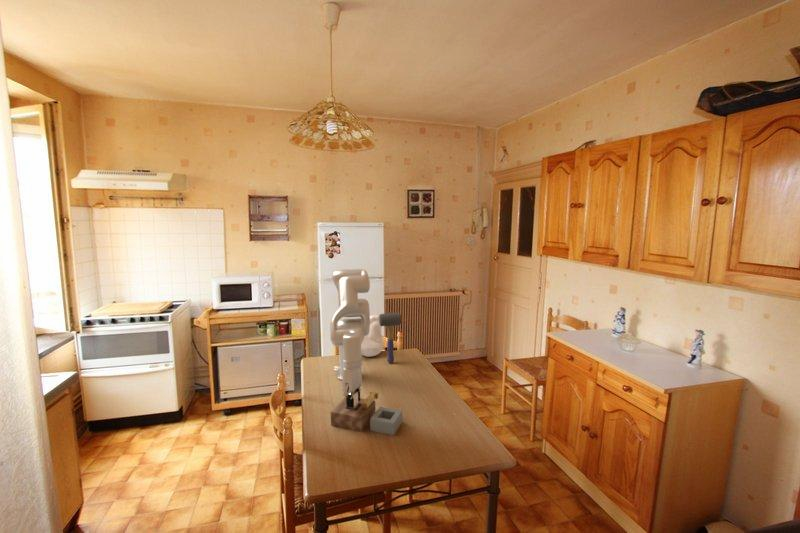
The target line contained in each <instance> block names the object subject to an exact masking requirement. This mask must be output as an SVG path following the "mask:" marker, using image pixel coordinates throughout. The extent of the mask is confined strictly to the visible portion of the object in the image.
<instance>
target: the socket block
mask: <svg viewBox="0 0 800 533" xmlns="http://www.w3.org/2000/svg"><path fill="white" fill-rule="evenodd" d="M365 399H366V398H361V397H360V401H358V410H357V411H355V410H350V409H349V407H347V406H346V397H345V396H344V398H343V399H342V400H341V401H340V402H339V403H338V404H337V405H336V406H335V407H334V408H333V409H332V410H330V425H331V426H333V427H336V428H337V427H339V428H342V429H348V430H352V431H357V432H363V430H365V428H366V427H367V425H368V424H370V419H371V417H372V416H373V415H374V414H375V412H376V411H377V410H376V400H374V401H373V403H372V404H371V405H370V406H369V407H368V408H367V409H364V408H363V404H362V403H363V402H364V400H365Z"/></svg>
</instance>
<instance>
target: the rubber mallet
mask: <svg viewBox="0 0 800 533" xmlns="http://www.w3.org/2000/svg"><path fill="white" fill-rule="evenodd" d="M378 316H379V323H380V326H381V327H387V332H388V333H387V343H386V344H387V345H386V348H387V358H386V361H387V362H388V363H387V364H393V363H394V361H395V359H394V338H393V327H395V326H400V325H401V324H402V315H401V313H400V312H387V313H380V314H379V315H378Z"/></svg>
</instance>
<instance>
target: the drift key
mask: <svg viewBox="0 0 800 533" xmlns="http://www.w3.org/2000/svg"><path fill="white" fill-rule="evenodd" d="M379 394H380V393H379V391H378V392H377V391H373V390H371V391H370V392H369V395H368V396H367V397H366V398H364V399H365V400H364V402H363V403H362V404H363V408H364V409H367V408H368V407H369V406H370V405H371V404H372V403H373V401H376V400H377V399H380V398H379Z"/></svg>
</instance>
